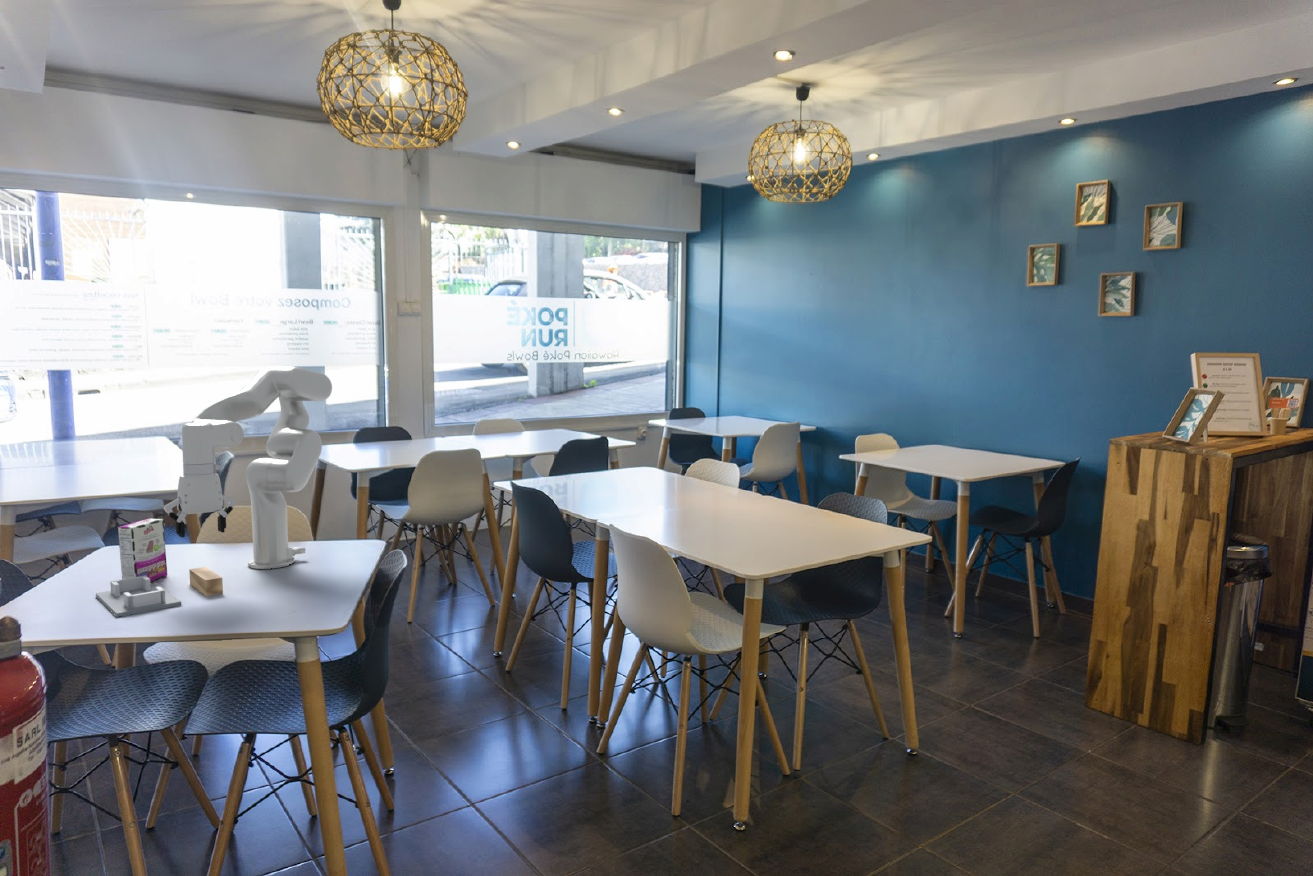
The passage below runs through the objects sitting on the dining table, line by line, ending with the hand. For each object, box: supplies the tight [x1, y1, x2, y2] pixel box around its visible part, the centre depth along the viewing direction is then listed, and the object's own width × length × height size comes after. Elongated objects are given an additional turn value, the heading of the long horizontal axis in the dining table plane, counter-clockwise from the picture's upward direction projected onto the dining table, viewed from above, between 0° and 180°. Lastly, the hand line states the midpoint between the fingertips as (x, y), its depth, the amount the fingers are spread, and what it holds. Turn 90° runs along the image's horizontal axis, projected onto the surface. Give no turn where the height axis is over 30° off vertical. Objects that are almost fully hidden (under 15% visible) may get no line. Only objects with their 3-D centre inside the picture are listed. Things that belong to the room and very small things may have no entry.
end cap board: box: [95, 576, 182, 618], centre depth 217 cm, size 14×22×4 cm, turn 44°
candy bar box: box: [117, 518, 168, 583], centre depth 234 cm, size 11×5×16 cm, turn 168°
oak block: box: [189, 566, 224, 597], centre depth 228 cm, size 4×14×4 cm, turn 44°
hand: (201, 534), depth 226 cm, fingers open, 9 cm apart
